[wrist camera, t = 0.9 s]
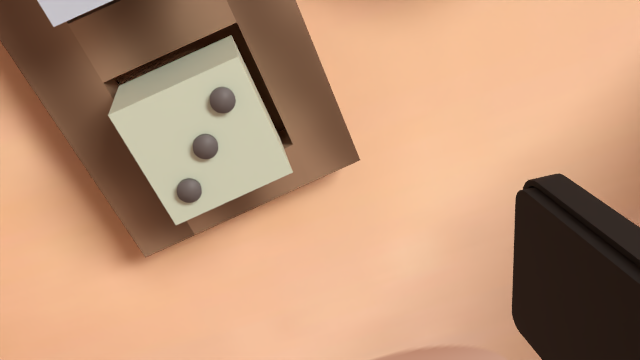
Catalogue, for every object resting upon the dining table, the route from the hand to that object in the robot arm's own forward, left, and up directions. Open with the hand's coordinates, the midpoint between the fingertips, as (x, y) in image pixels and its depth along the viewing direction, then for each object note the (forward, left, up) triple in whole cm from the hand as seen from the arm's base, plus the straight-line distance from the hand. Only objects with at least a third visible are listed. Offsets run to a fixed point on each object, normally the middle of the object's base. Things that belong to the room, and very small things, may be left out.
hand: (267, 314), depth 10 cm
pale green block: (+2, +3, -21) cm, 22 cm away
